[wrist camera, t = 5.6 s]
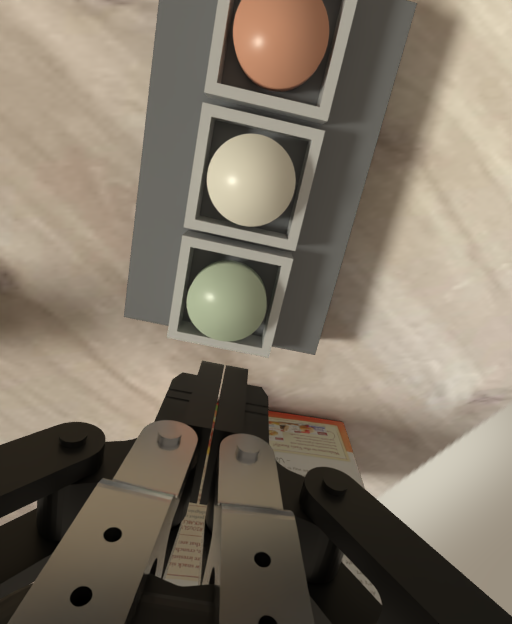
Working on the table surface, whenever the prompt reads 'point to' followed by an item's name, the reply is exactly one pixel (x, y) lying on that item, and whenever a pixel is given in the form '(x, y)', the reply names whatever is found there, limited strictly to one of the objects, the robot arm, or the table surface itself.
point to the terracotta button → (280, 41)
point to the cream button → (251, 180)
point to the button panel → (281, 128)
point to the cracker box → (293, 456)
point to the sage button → (227, 301)
